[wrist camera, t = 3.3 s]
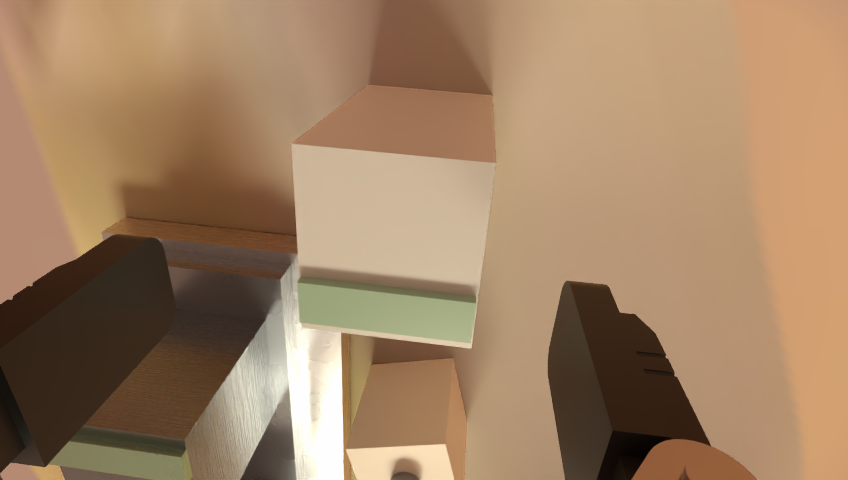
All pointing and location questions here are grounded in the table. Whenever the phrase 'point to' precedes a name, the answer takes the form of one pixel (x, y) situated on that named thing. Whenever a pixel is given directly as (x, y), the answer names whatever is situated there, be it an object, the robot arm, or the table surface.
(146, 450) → the board
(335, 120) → the block
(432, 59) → the table surface
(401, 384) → the block
